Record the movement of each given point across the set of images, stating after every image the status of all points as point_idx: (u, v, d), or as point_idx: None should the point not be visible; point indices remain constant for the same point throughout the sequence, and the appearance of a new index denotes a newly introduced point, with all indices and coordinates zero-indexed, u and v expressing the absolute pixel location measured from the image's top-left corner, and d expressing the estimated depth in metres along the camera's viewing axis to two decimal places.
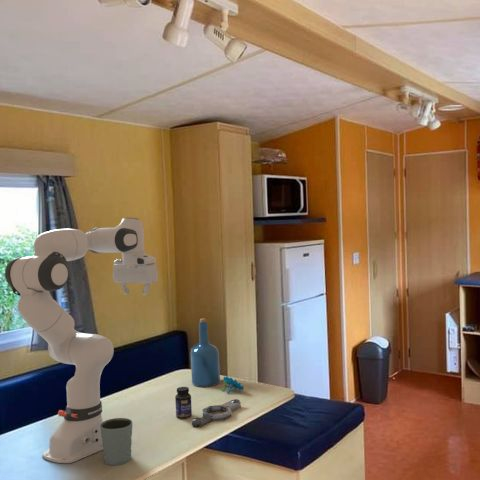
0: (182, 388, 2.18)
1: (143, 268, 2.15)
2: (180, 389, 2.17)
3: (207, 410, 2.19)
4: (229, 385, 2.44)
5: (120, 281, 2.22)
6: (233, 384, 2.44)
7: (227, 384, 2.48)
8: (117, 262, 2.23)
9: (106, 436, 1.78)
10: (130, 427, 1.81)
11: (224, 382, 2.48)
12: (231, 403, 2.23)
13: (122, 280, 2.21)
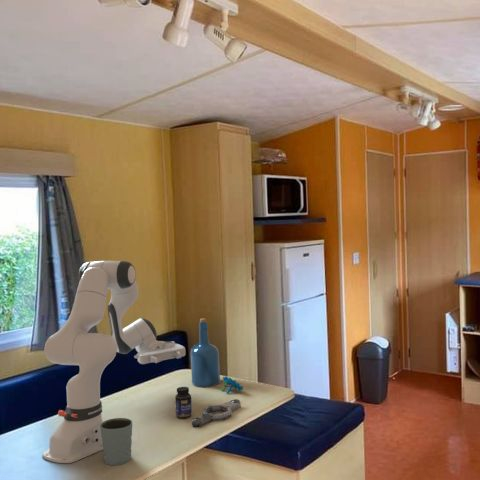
0: (182, 388, 2.18)
1: (171, 346, 2.40)
2: (180, 389, 2.17)
3: (207, 410, 2.19)
4: (228, 385, 2.44)
5: (149, 354, 2.29)
6: (232, 384, 2.44)
7: (227, 384, 2.48)
8: None
9: (106, 436, 1.78)
10: (130, 427, 1.81)
11: (224, 382, 2.48)
12: (231, 403, 2.23)
13: (151, 353, 2.30)
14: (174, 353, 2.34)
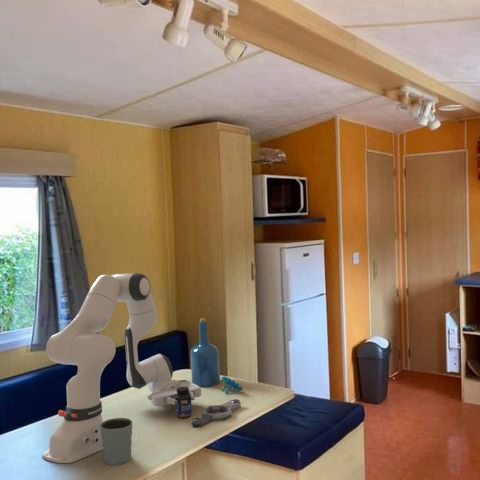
0: (182, 388, 2.18)
1: (186, 385, 2.29)
2: (180, 389, 2.17)
3: (207, 410, 2.19)
4: (228, 385, 2.44)
5: (164, 395, 2.19)
6: (231, 384, 2.44)
7: (226, 384, 2.48)
8: None
9: (106, 436, 1.78)
10: (130, 427, 1.81)
11: (223, 382, 2.49)
12: (231, 403, 2.23)
13: (166, 394, 2.19)
14: None
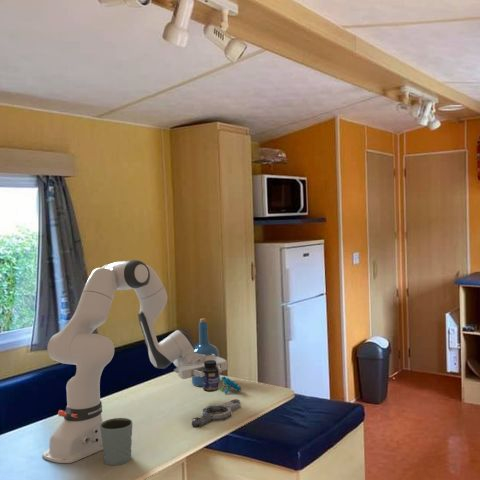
0: (210, 361, 2.16)
1: (212, 359, 2.28)
2: (208, 362, 2.15)
3: (207, 410, 2.19)
4: (227, 385, 2.44)
5: (191, 368, 2.17)
6: (231, 384, 2.44)
7: (226, 384, 2.48)
8: None
9: (106, 436, 1.78)
10: (130, 427, 1.81)
11: (223, 382, 2.49)
12: (231, 403, 2.23)
13: (193, 367, 2.18)
14: None
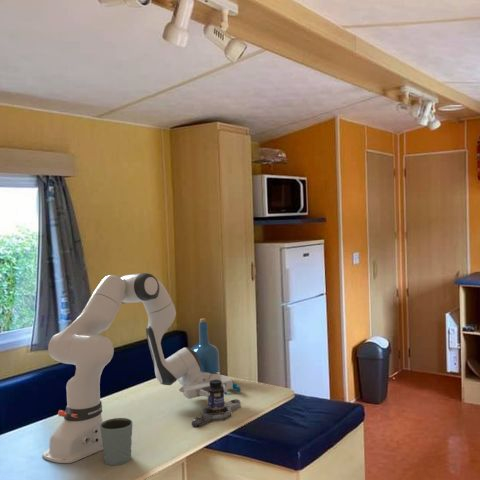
0: (215, 381, 2.16)
1: (217, 378, 2.28)
2: (213, 382, 2.15)
3: (207, 410, 2.19)
4: None
5: (197, 388, 2.17)
6: None
7: None
8: None
9: (106, 436, 1.78)
10: (130, 427, 1.81)
11: None
12: (231, 403, 2.23)
13: (198, 386, 2.18)
14: None
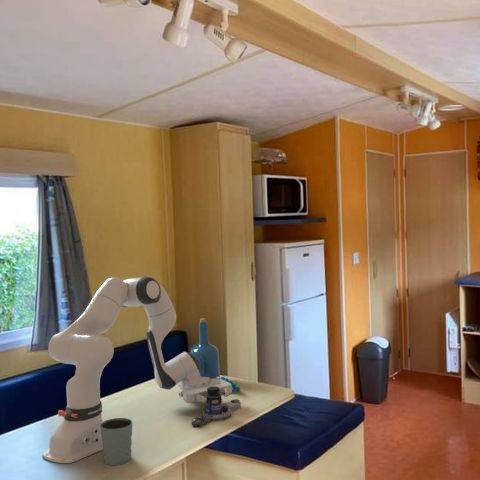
0: (213, 388, 2.16)
1: (217, 382, 2.28)
2: (211, 389, 2.15)
3: None
4: None
5: (196, 392, 2.18)
6: None
7: None
8: None
9: (106, 436, 1.78)
10: (130, 427, 1.81)
11: None
12: (231, 403, 2.23)
13: (198, 391, 2.18)
14: (221, 390, 2.23)
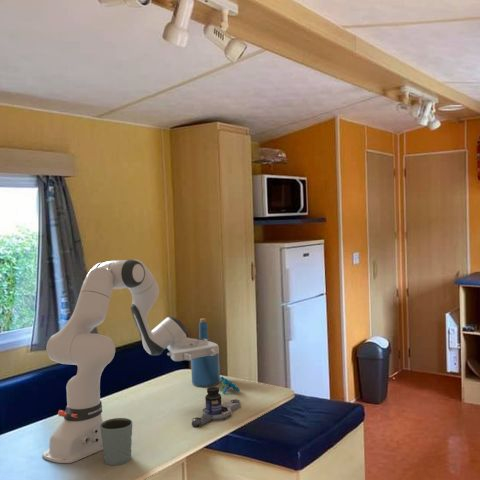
0: (213, 388, 2.16)
1: (204, 343, 2.35)
2: (210, 389, 2.15)
3: None
4: (225, 385, 2.44)
5: (183, 351, 2.25)
6: (229, 385, 2.43)
7: (225, 384, 2.48)
8: None
9: (106, 436, 1.78)
10: (130, 427, 1.81)
11: (222, 382, 2.49)
12: (231, 403, 2.23)
13: (185, 350, 2.26)
14: (208, 350, 2.30)
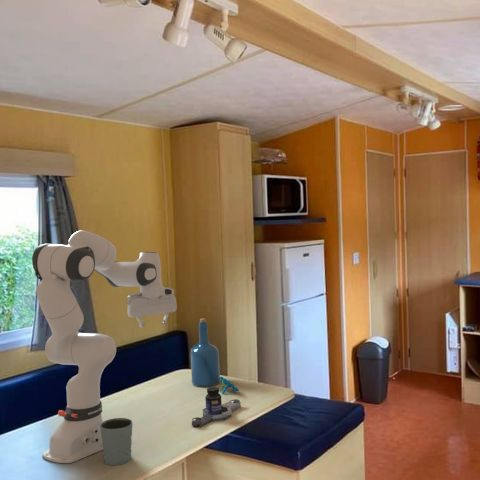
0: (213, 388, 2.16)
1: (167, 298, 2.27)
2: (210, 389, 2.15)
3: None
4: (225, 385, 2.44)
5: (140, 315, 2.22)
6: (228, 385, 2.43)
7: (224, 384, 2.48)
8: (132, 297, 2.21)
9: (106, 436, 1.78)
10: (130, 427, 1.81)
11: (222, 382, 2.49)
12: (231, 403, 2.23)
13: (142, 314, 2.22)
14: None
